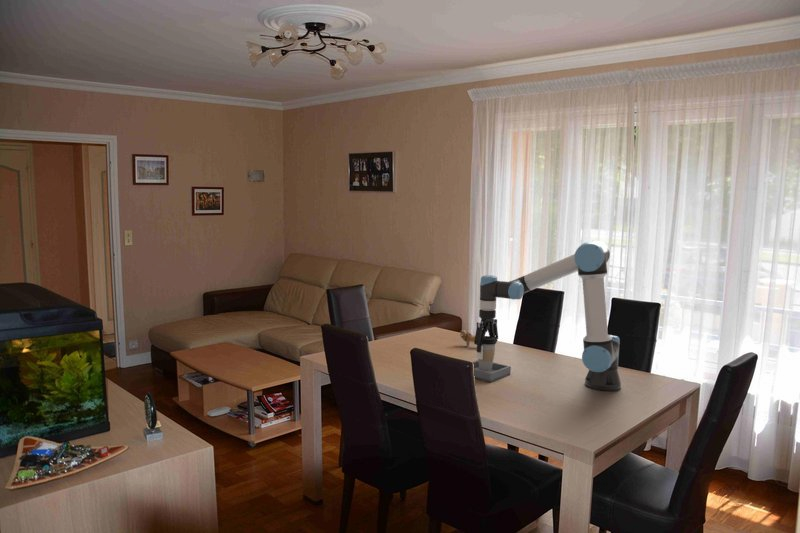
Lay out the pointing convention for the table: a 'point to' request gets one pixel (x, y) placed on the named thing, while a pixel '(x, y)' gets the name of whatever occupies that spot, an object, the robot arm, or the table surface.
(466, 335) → the lion figurine
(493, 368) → the bin
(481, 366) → the coffee cup
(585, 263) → the robot arm
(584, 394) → the table surface
